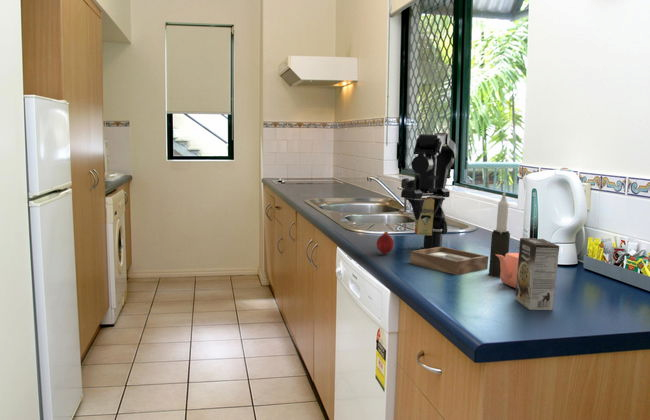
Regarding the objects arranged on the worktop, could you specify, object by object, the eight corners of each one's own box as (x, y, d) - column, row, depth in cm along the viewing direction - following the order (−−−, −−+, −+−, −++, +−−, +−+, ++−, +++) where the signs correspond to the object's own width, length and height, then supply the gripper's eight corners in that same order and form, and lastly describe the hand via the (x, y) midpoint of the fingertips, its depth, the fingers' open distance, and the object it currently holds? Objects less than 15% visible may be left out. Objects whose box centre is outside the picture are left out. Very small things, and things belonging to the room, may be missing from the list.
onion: (392, 257, 205) (393, 233, 204) (375, 255, 206) (376, 232, 205) (393, 253, 211) (395, 230, 210) (377, 252, 212) (378, 229, 211)
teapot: (561, 291, 168) (565, 254, 167) (504, 293, 163) (507, 255, 162) (536, 281, 179) (539, 246, 178) (481, 283, 174) (484, 246, 173)
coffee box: (513, 299, 157) (519, 237, 155) (538, 300, 158) (543, 238, 156) (528, 310, 148) (534, 244, 146) (554, 310, 149) (560, 244, 147)
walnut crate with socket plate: (441, 258, 206) (442, 246, 206) (487, 268, 193) (488, 256, 193) (410, 263, 196) (410, 251, 195) (456, 274, 182) (457, 261, 182)
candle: (507, 274, 186) (513, 192, 183) (506, 277, 181) (513, 193, 178) (489, 272, 188) (496, 191, 185) (488, 275, 183) (494, 192, 180)
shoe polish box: (414, 232, 209) (416, 197, 207) (428, 233, 209) (431, 197, 208) (417, 235, 204) (419, 199, 202) (432, 235, 204) (434, 199, 203)
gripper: (426, 170, 216) (423, 214, 218) (390, 170, 204) (387, 217, 206) (452, 172, 208) (448, 218, 210) (415, 173, 196) (412, 221, 198)
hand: (424, 218), depth 206 cm, fingers closed on shoe polish box, 7 cm apart
